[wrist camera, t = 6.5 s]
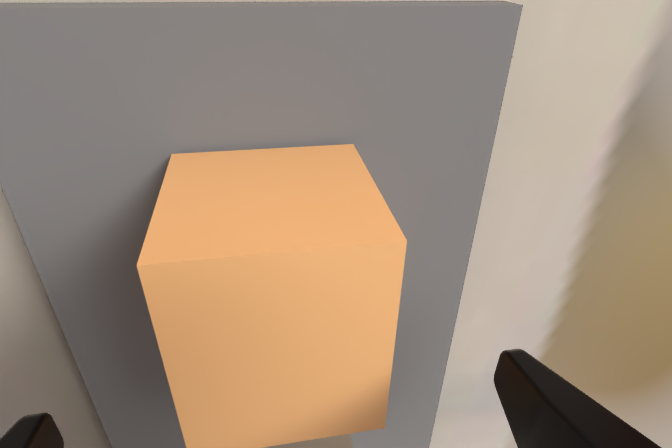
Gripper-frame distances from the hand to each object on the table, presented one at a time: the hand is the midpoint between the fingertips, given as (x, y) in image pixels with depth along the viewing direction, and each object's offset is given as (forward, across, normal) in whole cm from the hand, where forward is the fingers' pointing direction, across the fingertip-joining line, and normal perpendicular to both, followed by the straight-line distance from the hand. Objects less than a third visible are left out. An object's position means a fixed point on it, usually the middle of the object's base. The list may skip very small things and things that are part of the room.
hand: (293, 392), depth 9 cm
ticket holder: (+7, 0, +9) cm, 11 cm away
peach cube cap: (+6, 0, 0) cm, 6 cm away
